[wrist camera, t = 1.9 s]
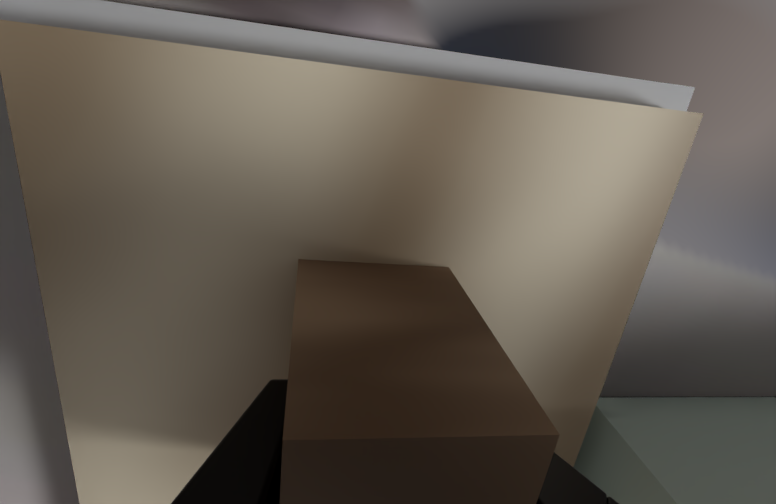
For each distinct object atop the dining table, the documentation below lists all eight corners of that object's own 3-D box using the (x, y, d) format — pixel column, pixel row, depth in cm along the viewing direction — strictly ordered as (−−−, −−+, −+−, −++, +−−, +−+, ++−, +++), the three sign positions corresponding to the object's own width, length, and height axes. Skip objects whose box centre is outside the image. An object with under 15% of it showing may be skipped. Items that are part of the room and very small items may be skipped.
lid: (666, 108, 10) (1058, 158, 4) (531, 509, 14) (653, 760, 9) (31, 24, 7) (-595, -65, 2) (108, 531, 12) (-46, 882, 7)
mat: (680, 85, 10) (694, 87, 9) (535, 508, 15) (541, 519, 14) (5, -13, 7) (-11, -16, 7) (96, 531, 12) (90, 545, 12)
